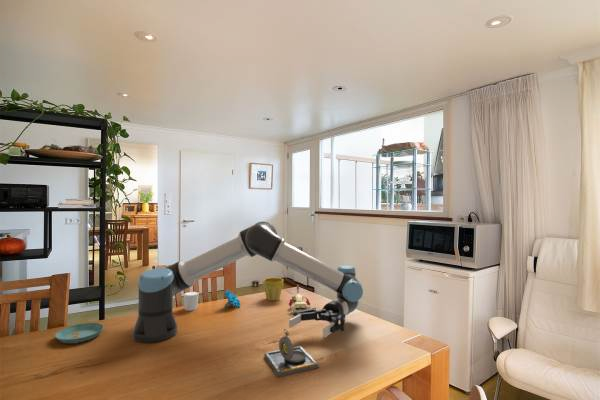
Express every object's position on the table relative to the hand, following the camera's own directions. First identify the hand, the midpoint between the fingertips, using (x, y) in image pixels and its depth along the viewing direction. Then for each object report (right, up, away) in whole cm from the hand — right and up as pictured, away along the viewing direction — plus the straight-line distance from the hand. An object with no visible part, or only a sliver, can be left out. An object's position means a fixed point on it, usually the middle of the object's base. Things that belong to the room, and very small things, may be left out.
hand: (306, 328), depth 109 cm
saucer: (-82, -7, +9) cm, 83 cm away
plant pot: (-16, -8, +57) cm, 60 cm away
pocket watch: (-5, -7, -8) cm, 11 cm away
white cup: (-52, -7, +41) cm, 67 cm away
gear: (-34, -8, +45) cm, 57 cm away
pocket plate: (-5, -8, -8) cm, 12 cm away
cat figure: (-3, -8, +45) cm, 46 cm away
